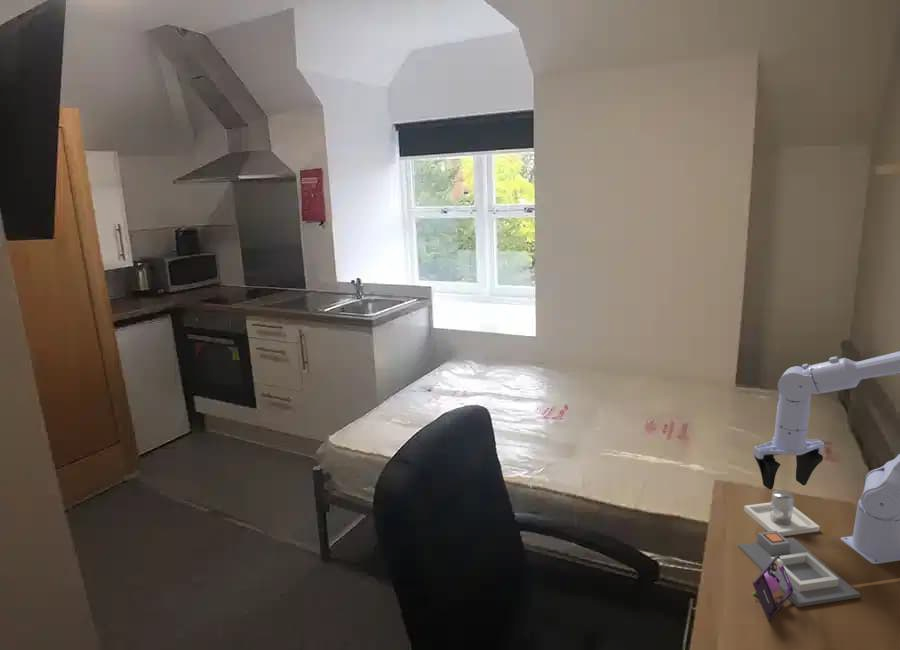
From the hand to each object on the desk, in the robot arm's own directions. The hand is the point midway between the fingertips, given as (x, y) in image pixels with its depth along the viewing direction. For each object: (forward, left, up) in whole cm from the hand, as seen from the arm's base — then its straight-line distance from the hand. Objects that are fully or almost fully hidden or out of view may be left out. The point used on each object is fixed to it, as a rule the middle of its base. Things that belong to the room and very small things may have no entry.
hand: (784, 484), depth 121 cm
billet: (0, 0, -8) cm, 8 cm away
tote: (0, 0, -9) cm, 9 cm away
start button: (+8, +8, -7) cm, 14 cm away
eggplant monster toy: (+18, +20, -9) cm, 28 cm away
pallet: (+8, +15, -9) cm, 19 cm away
